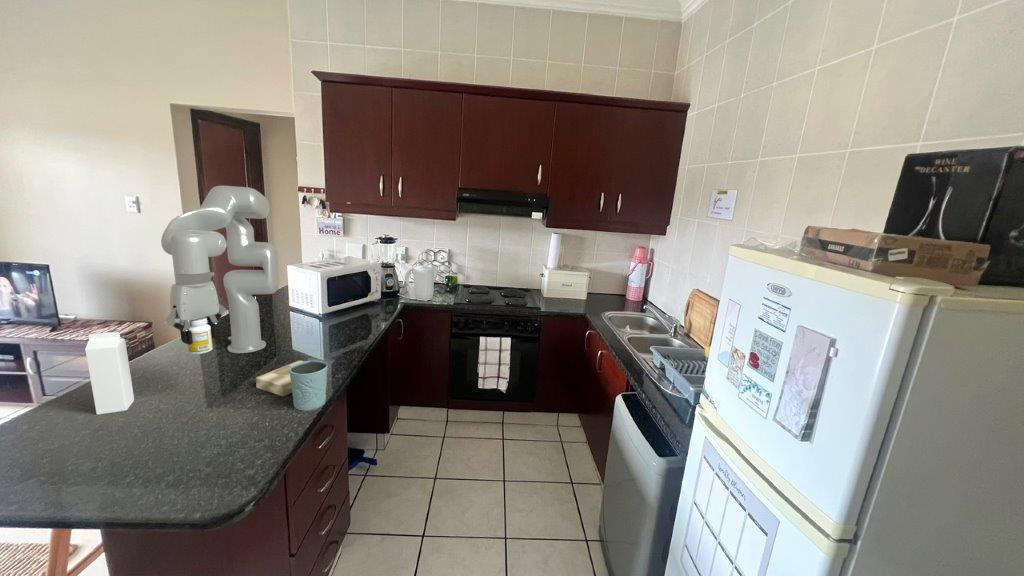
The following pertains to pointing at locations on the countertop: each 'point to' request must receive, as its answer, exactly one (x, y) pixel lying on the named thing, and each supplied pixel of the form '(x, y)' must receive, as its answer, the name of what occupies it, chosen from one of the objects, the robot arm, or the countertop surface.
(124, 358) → the milk
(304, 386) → the embossed blue-green cup
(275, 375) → the socket block
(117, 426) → the countertop surface
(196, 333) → the supplement bottle
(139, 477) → the countertop surface
